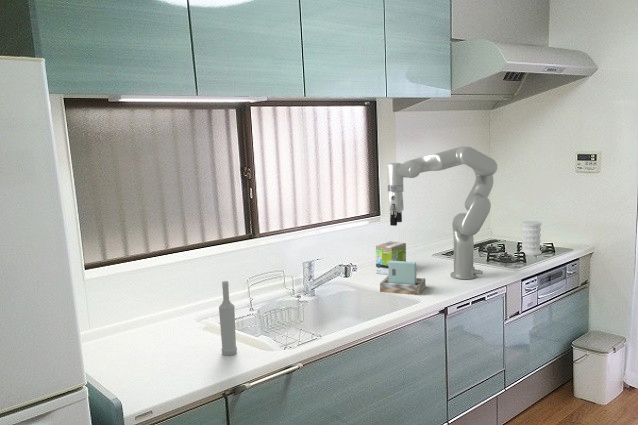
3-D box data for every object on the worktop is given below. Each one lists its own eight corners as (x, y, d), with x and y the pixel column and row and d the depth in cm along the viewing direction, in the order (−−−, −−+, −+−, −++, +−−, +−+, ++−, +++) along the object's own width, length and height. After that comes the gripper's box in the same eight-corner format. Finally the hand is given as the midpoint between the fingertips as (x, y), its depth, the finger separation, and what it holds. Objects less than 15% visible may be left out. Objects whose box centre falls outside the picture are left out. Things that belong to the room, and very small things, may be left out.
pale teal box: (416, 287, 252) (416, 262, 250) (414, 289, 249) (414, 263, 247) (390, 285, 257) (390, 260, 255) (388, 287, 254) (388, 262, 252)
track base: (425, 286, 259) (425, 278, 258) (418, 295, 246) (418, 286, 245) (388, 283, 266) (388, 275, 265) (380, 291, 253) (379, 283, 252)
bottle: (237, 355, 186) (233, 283, 182) (222, 357, 185) (217, 284, 181) (236, 349, 191) (232, 279, 187) (221, 351, 190) (217, 280, 186)
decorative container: (543, 251, 321) (543, 221, 319) (539, 256, 312) (540, 224, 309) (522, 250, 327) (522, 220, 325) (518, 254, 317) (519, 223, 315)
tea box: (392, 276, 280) (392, 247, 278) (375, 273, 286) (374, 245, 284) (406, 269, 292) (406, 242, 289) (390, 267, 298) (389, 240, 296)
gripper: (398, 190, 256) (399, 227, 258) (407, 186, 272) (407, 221, 274) (383, 190, 259) (383, 226, 261) (392, 186, 275) (393, 220, 277)
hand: (396, 223), depth 268 cm, fingers open, 9 cm apart
